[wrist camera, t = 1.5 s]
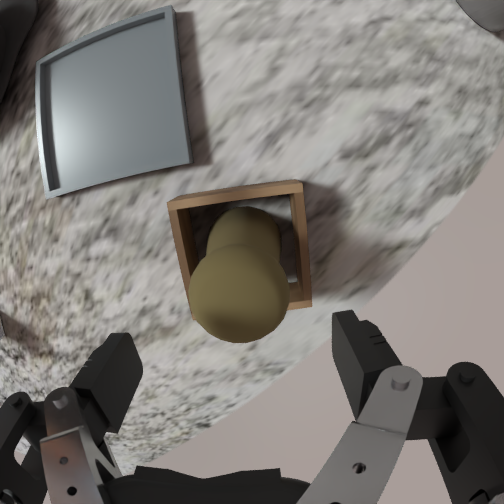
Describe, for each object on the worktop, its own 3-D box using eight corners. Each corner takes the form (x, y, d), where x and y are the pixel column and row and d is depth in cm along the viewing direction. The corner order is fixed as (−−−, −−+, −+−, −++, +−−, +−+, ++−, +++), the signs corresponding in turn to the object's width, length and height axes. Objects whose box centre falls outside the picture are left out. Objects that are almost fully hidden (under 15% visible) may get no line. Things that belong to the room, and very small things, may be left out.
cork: (276, 281, 25) (290, 365, 14) (205, 273, 25) (174, 353, 14) (286, 210, 23) (314, 256, 12) (210, 202, 23) (174, 241, 12)
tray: (175, 12, 17) (171, 4, 16) (193, 162, 22) (189, 163, 20) (44, 64, 18) (36, 61, 17) (55, 196, 22) (46, 199, 21)
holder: (295, 179, 22) (302, 183, 19) (305, 287, 25) (312, 306, 22) (179, 195, 23) (166, 202, 19) (200, 299, 25) (193, 320, 22)
